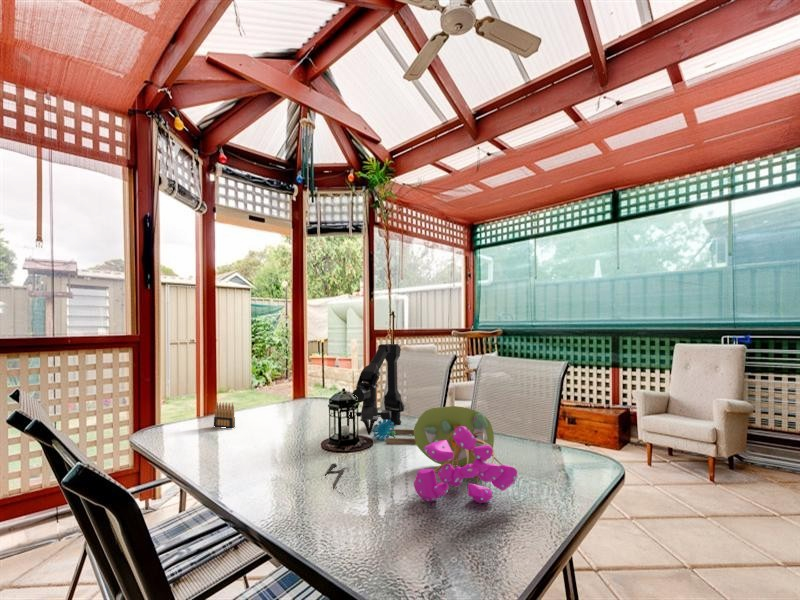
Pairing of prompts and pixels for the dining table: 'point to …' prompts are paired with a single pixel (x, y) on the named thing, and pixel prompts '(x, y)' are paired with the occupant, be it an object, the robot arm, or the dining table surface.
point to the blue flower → (384, 430)
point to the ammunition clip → (224, 416)
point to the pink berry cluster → (458, 453)
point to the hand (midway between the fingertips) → (369, 434)
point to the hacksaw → (335, 472)
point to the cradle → (401, 440)
